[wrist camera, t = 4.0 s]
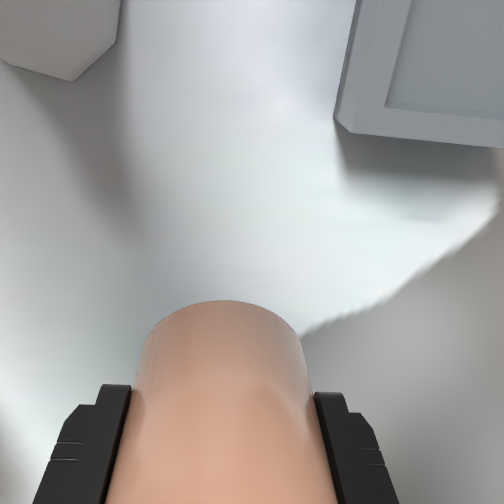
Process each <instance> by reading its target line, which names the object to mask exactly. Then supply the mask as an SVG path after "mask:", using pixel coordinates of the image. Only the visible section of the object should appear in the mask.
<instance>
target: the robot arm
mask: <svg viewBox="0 0 504 504" xmlns="http://www.w3.org/2000/svg"><path fill="white" fill-rule="evenodd" d="M131 392H132V391H131V385H113V384H103V385H102V386H101V388H100V391H99V394H98V397H97V400H96V403H95V405H82V404H79V405H78V407H77V408H76V409H75V410H74V411H73V412H72V413H71V415H70V416H69V417H68V418H67V419H66V420H65V422H64V424H63V427H62V429H61V432H60V434H59V437H58V439H57V444H56V445H55V447H54V450H53V452H52V455H51V459H50V461H49V462H48V465H47V467H46V470H45V473H44V475H43V478H42V480H41V483H40V485H39V488H38V490H37V493H36V495H35V498H34V501H33V503H32V504H104V502H105V498H106V494H107V490H108V486H109V482H110V478H111V474H112V469H113V465H114V461H115V457H116V453H117V449H118V445H119V441H120V437H121V433H122V429H123V425H124V421H125V417H126V413H127V409H128V404H129V400H130V396H131ZM313 397H314V401H315V406H316V410H317V414H318V419H319V423H320V427H321V432H322V436H323V440H324V445H325V449H326V453H327V458H328V462H329V466H330V471H331V475H332V479H333V484H334V488H335V492H336V497H337V501H338V504H399V501H398V499H397V496H396V493H395V490H394V488H393V485H392V482H391V479H390V476H389V473H388V470H387V468H386V467H385V462H384V459H383V457H382V454H381V451H379V446H378V442H377V440H376V437H375V434H374V431H373V429H372V428H371V426H370V425H369V424H368V422H367V421H366V420H365V419H364V417H363V416H362V415H361V413H349V411H348V409H347V405H346V401H345V398H344V396H343V394H341V393H337V392H315V394H314V396H313Z"/></svg>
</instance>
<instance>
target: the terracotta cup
mask: <svg viewBox="0 0 504 504" xmlns="http://www.w3.org/2000/svg"><path fill="white" fill-rule="evenodd" d="M104 504H338V501H337V497H336V492H335V488H334V484H333V479H332V475H331V471H330V466H329V462H328V458H327V453H326V449H325V445H324V440H323V436H322V432H321V427H320V423H319V419H318V414H317V410H316V406H315V401H314V397H313V393H312V389H311V384H310V380H309V375H308V371H307V367H306V363H305V358H304V354H303V349H302V345H301V343H300V340H299V338H298V336H297V335H296V333H295V331H294V330H293V329H292V328H291V327H290V325H289V324H288V323H286V322H285V321H284V320H283V319H282V318H280V317H279V316H277V315H276V314H274V313H273V312H271V311H269V310H267V309H264V308H262V307H259V306H256V305H253V304H249V303H244V302H238V301H209V302H203V303H198V304H194V305H191V306H188V307H185V308H183V309H180V310H178V311H176V312H174V313H172V314H171V315H169V316H168V317H166V318H165V319H163V320H162V321H161V322H160V323H158V324H157V325H156V326H155V328H154V329H153V330H152V331H151V332H150V334H149V335H148V337H147V338H146V340H145V343H144V345H143V348H142V352H141V356H140V360H139V364H138V368H137V372H136V376H135V380H134V384H133V388H132V392H131V396H130V400H129V404H128V409H127V413H126V417H125V421H124V425H123V429H122V433H121V437H120V441H119V445H118V449H117V453H116V457H115V461H114V465H113V469H112V474H111V478H110V482H109V486H108V490H107V494H106V498H105V502H104Z"/></svg>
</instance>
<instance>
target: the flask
mask: <svg viewBox="0 0 504 504" xmlns="http://www.w3.org/2000/svg"><path fill="white" fill-rule="evenodd" d="M120 2H121V0H0V59H1V60H3V61H4V62H6V63H8V64H10V65H14V66H17V67H21V68H24V69H28V70H31V71H35V72H38V73H41V74H45V75H48V76H52V77H55V78H59V79H62V80H66V81H69V82H74V81H75V80H76V79H77V78H78V77H79V76H80V75H81V74H82V73H84V72H85V71H86V70H87V69H88V68H89V67H90V66H91V65H92V64H93V63H94V62H95V61H96V60H97V59H98V58H100V57H101V56H102V55H103V54H104V53H105V52H106V51H107V50H108V49H109V48H110V47H111V46H112V45H113V44H114V43H116V35H117V27H118V18H119V10H120Z"/></svg>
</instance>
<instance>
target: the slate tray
mask: <svg viewBox="0 0 504 504" xmlns="http://www.w3.org/2000/svg"><path fill="white" fill-rule="evenodd" d="M333 117H334V118H335V119H336V120H337V121H338V122H339V123H340V124H342V125H343V126H344V127H345V128H346V129H347V130H348V131H349V132H350V133H357V134H367V135H376V136H386V137H396V138H405V139H415V140H425V141H434V142H444V143H454V144H463V145H473V146H483V147H492V148H502V149H504V0H356V5H355V10H354V15H353V20H352V25H351V30H350V35H349V39H348V44H347V49H346V54H345V59H344V64H343V69H342V74H341V79H340V84H339V89H338V94H337V99H336V104H335V109H334V114H333Z"/></svg>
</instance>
